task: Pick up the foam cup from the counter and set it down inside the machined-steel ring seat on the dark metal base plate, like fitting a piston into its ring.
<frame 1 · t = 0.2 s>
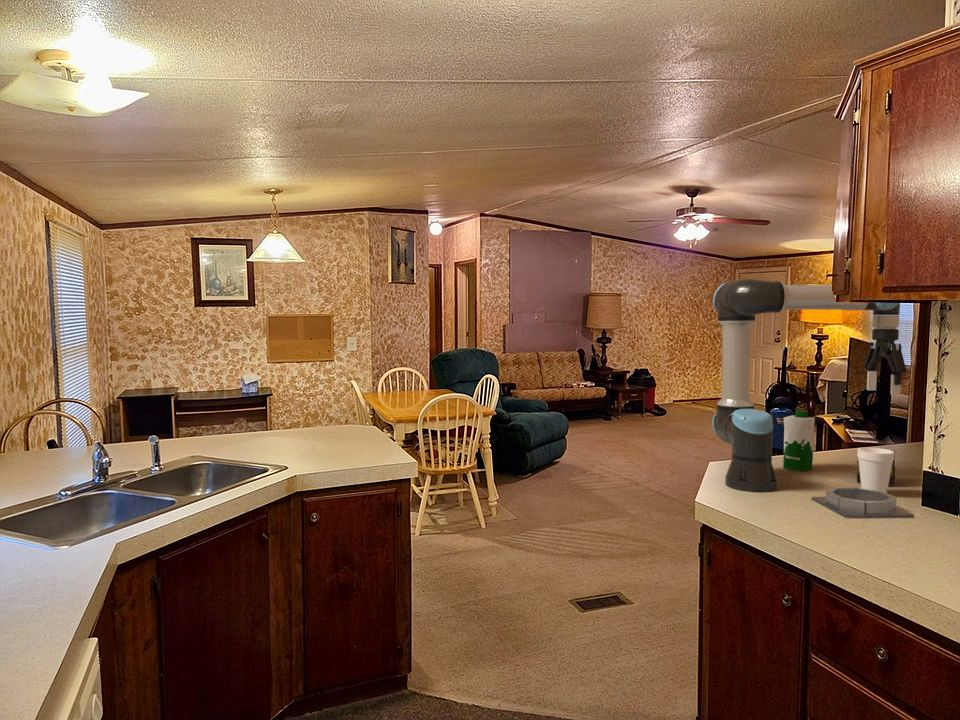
hand: (883, 392, 224), 28 cm above the countertop, fingers open, 13 cm apart
yellow black cube: (875, 482, 217), on the countertop
ring seat: (860, 508, 188), on the countertop
foam cup: (874, 494, 203), on the countertop
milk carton: (797, 469, 236), on the countertop
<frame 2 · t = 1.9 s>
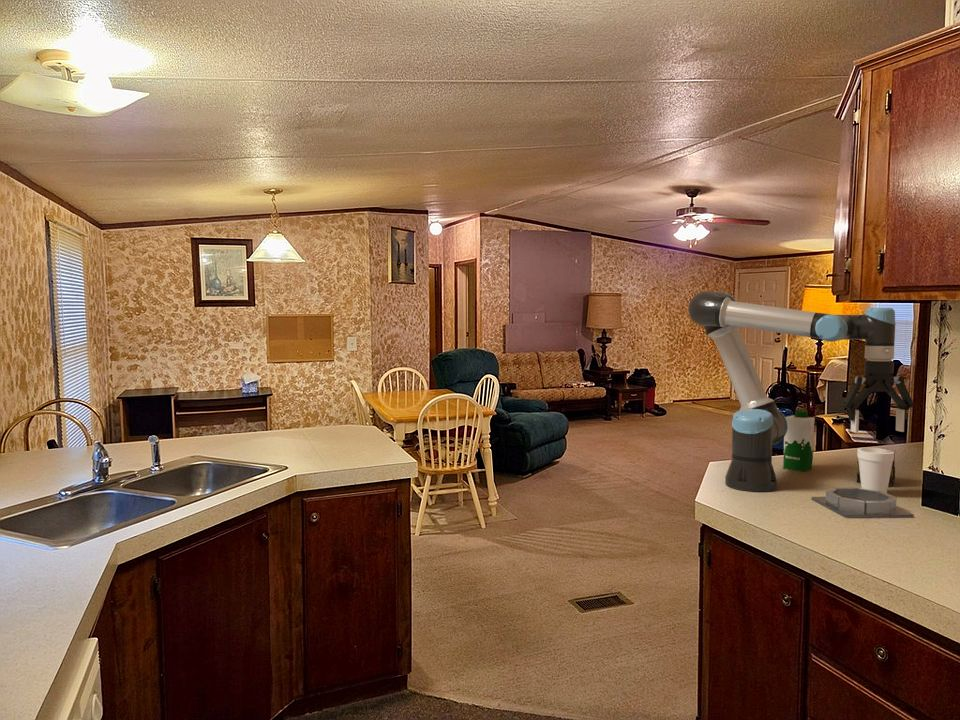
hand: (877, 431, 202), 19 cm above the countertop, fingers open, 13 cm apart
nothing on the countertop moved.
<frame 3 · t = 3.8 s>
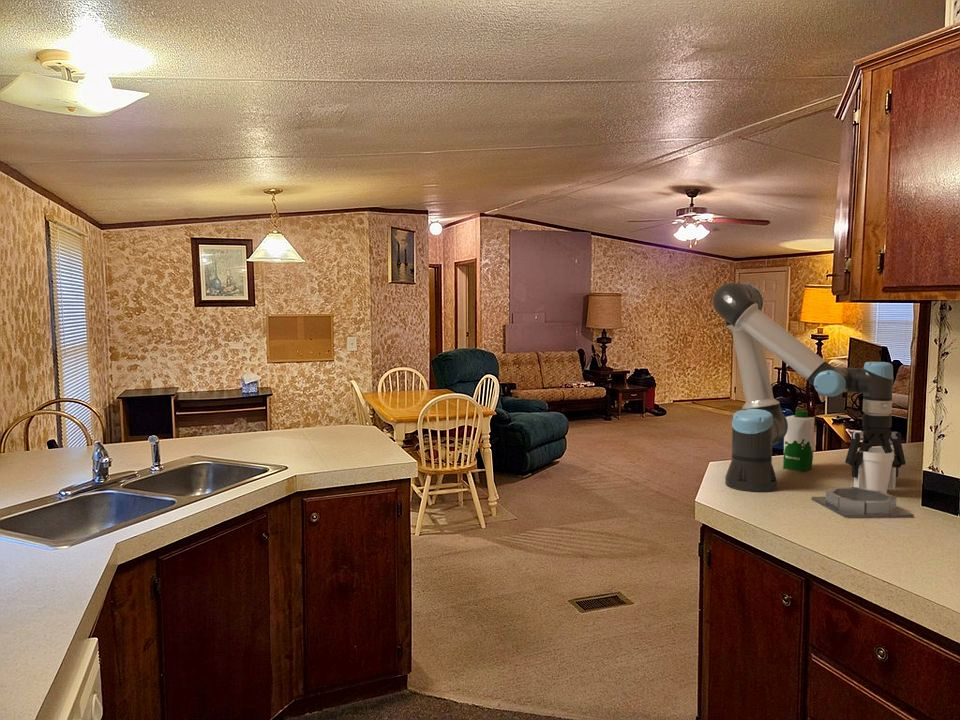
hand: (874, 488, 203), 2 cm above the countertop, fingers closed on foam cup, 9 cm apart
foam cup: (874, 494, 203), on the countertop, touching gripper
everything else where it was.
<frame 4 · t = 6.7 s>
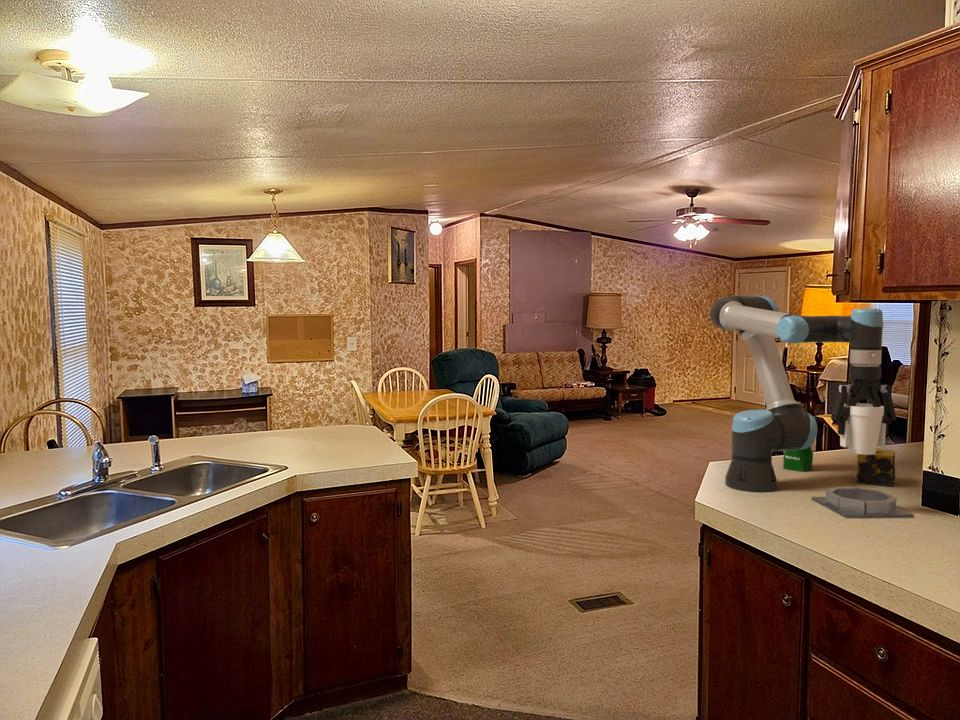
hand: (862, 446, 187), 17 cm above the countertop, fingers closed on foam cup, 9 cm apart
foam cup: (862, 453, 187), point 15 cm above the countertop, touching gripper
everything else where it was.
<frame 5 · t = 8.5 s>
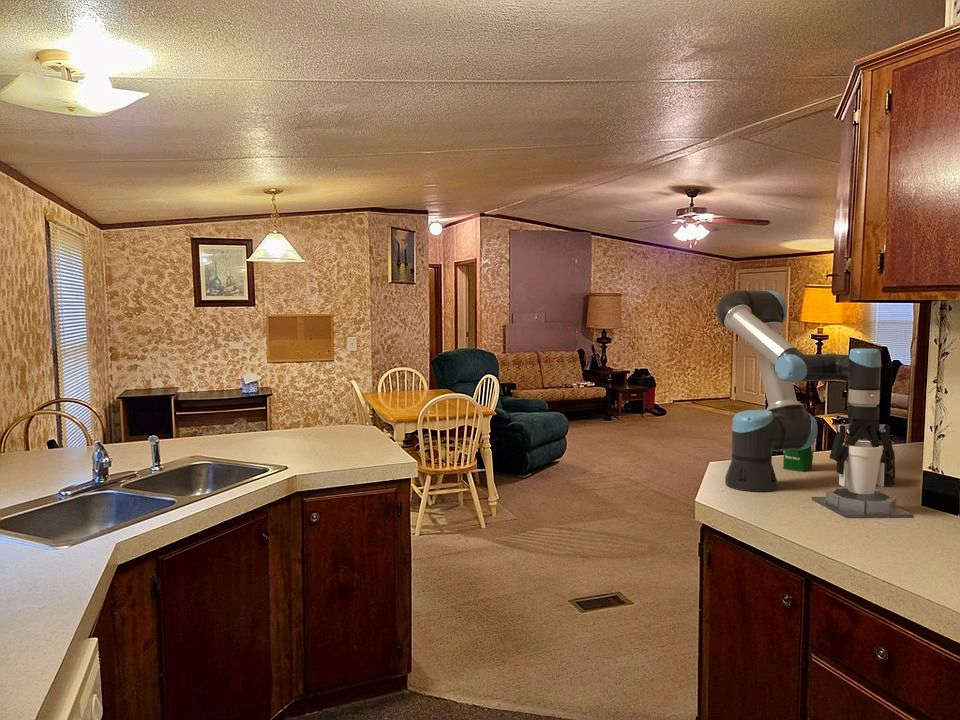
hand: (861, 485, 187), 6 cm above the countertop, fingers closed on foam cup, 9 cm apart
foam cup: (861, 492, 188), point 5 cm above the countertop, touching gripper
everything else where it was.
when the fingers open (5 cm above the countertop, at t = 9.8 s): foam cup drops 2 cm, resting on ring seat.
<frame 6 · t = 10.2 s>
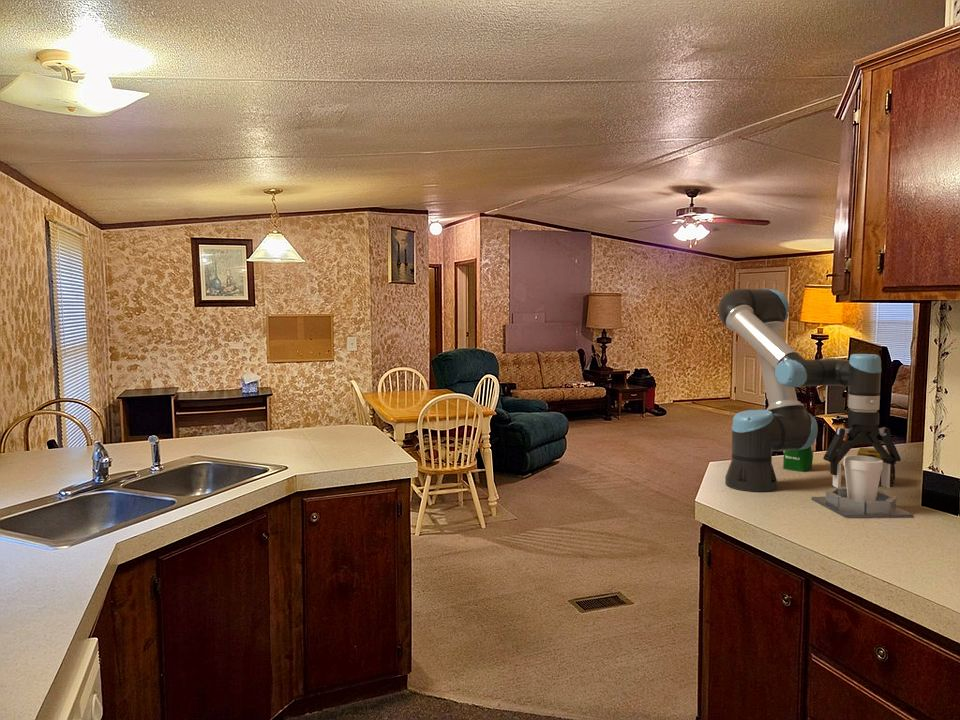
hand: (860, 486, 188), 6 cm above the countertop, fingers open, 13 cm apart
foam cup: (861, 505, 188), point 1 cm above the countertop, touching ring seat
everything else where it was.
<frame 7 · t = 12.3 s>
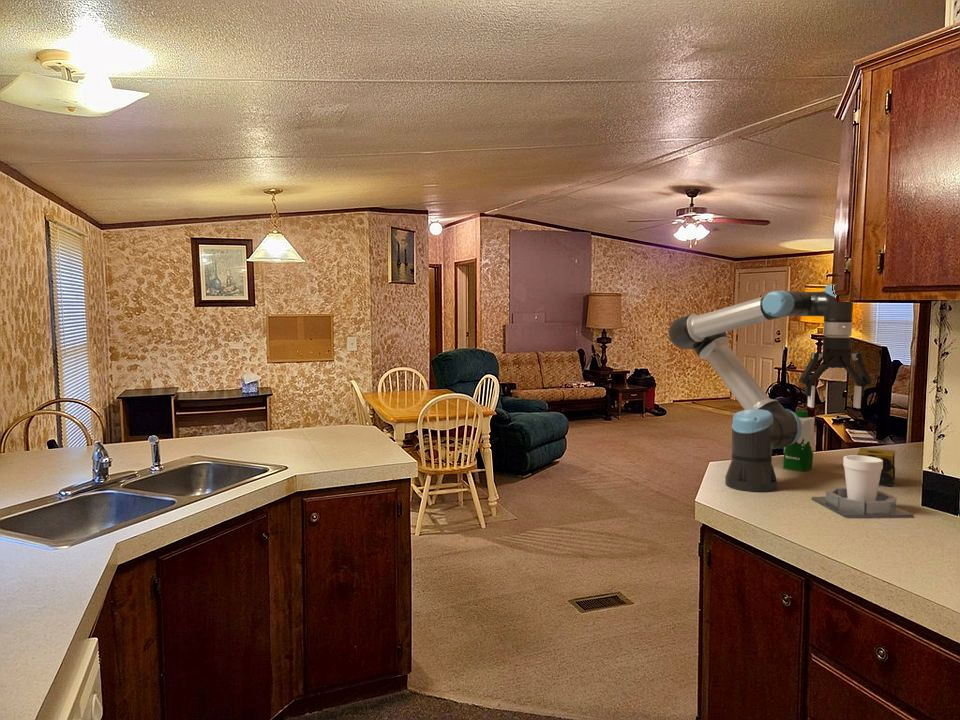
hand: (833, 407, 204), 26 cm above the countertop, fingers open, 13 cm apart
nothing on the countertop moved.
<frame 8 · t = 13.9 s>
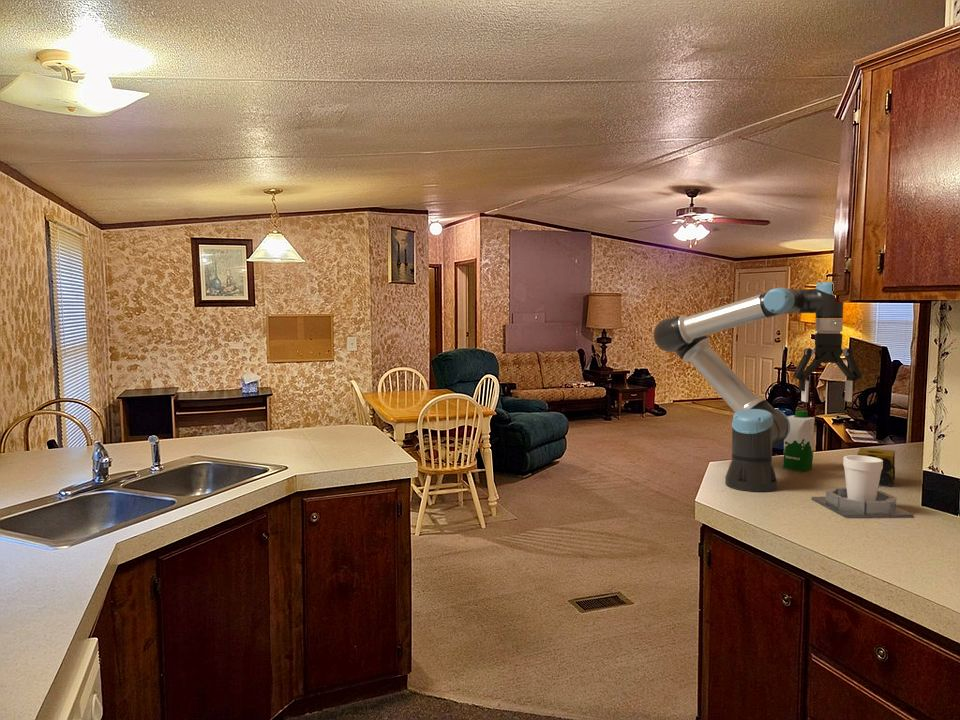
hand: (826, 401, 209), 27 cm above the countertop, fingers open, 13 cm apart
nothing on the countertop moved.
at the end: foam cup 0.3 cm from the ring seat (horizontally); foam cup tilted 0°; the gripper is holding nothing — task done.
